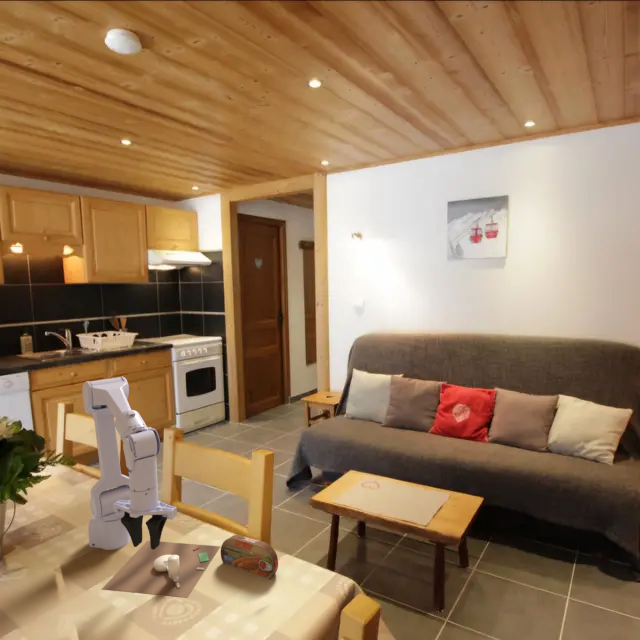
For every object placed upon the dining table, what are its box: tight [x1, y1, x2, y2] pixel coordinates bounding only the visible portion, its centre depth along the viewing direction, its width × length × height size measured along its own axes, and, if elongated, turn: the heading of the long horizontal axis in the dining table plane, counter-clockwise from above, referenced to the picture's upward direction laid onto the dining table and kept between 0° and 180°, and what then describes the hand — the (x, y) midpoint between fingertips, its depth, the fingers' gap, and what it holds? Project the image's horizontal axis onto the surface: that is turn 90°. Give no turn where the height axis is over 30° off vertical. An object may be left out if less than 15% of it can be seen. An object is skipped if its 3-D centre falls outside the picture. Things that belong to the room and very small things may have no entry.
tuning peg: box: [154, 555, 180, 582], centre depth 105 cm, size 10×5×5 cm, turn 36°
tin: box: [220, 534, 279, 581], centre depth 106 cm, size 15×3×8 cm, turn 62°
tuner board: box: [101, 540, 222, 599], centre depth 108 cm, size 20×19×2 cm
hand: (146, 545), depth 101 cm, fingers open, 4 cm apart
